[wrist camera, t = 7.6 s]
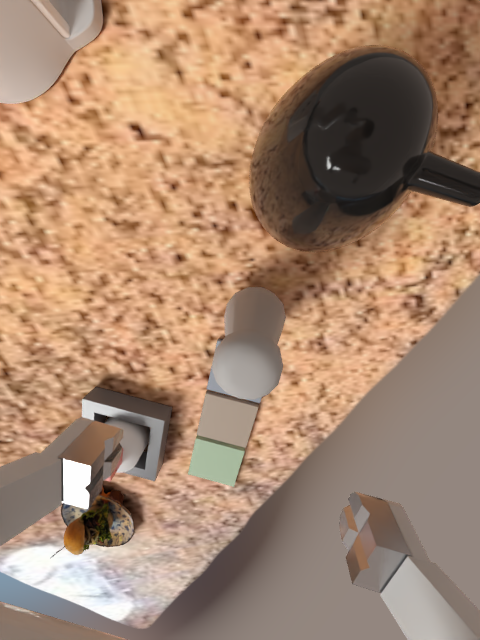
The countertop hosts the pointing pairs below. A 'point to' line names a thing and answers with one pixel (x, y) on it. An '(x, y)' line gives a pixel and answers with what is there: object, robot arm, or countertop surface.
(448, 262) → the countertop surface
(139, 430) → the dome
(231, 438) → the track
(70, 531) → the bowl of food
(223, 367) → the salt shaker
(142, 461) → the button housing
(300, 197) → the dark grey egg device
